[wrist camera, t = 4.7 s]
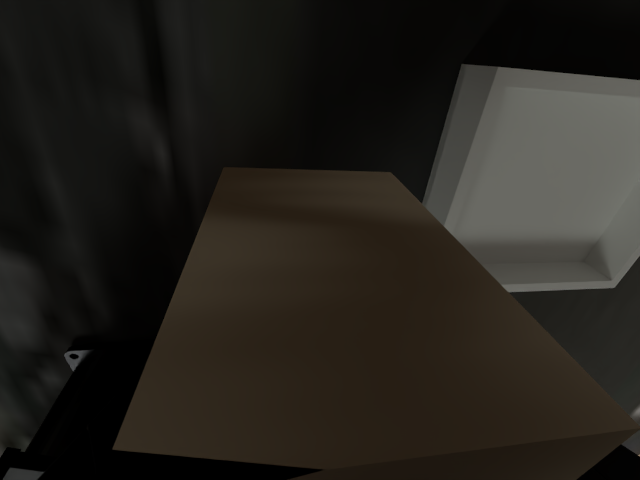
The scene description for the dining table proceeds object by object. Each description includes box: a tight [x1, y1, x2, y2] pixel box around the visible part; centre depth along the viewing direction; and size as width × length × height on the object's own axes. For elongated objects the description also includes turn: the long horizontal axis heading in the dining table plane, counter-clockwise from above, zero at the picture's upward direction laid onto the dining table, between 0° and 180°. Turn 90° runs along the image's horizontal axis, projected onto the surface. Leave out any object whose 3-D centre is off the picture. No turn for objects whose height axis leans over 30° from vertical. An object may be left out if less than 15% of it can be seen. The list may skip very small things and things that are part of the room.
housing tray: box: [422, 64, 640, 292], centre depth 16 cm, size 13×11×2 cm
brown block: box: [112, 167, 640, 480], centre depth 6 cm, size 4×6×7 cm, turn 175°
